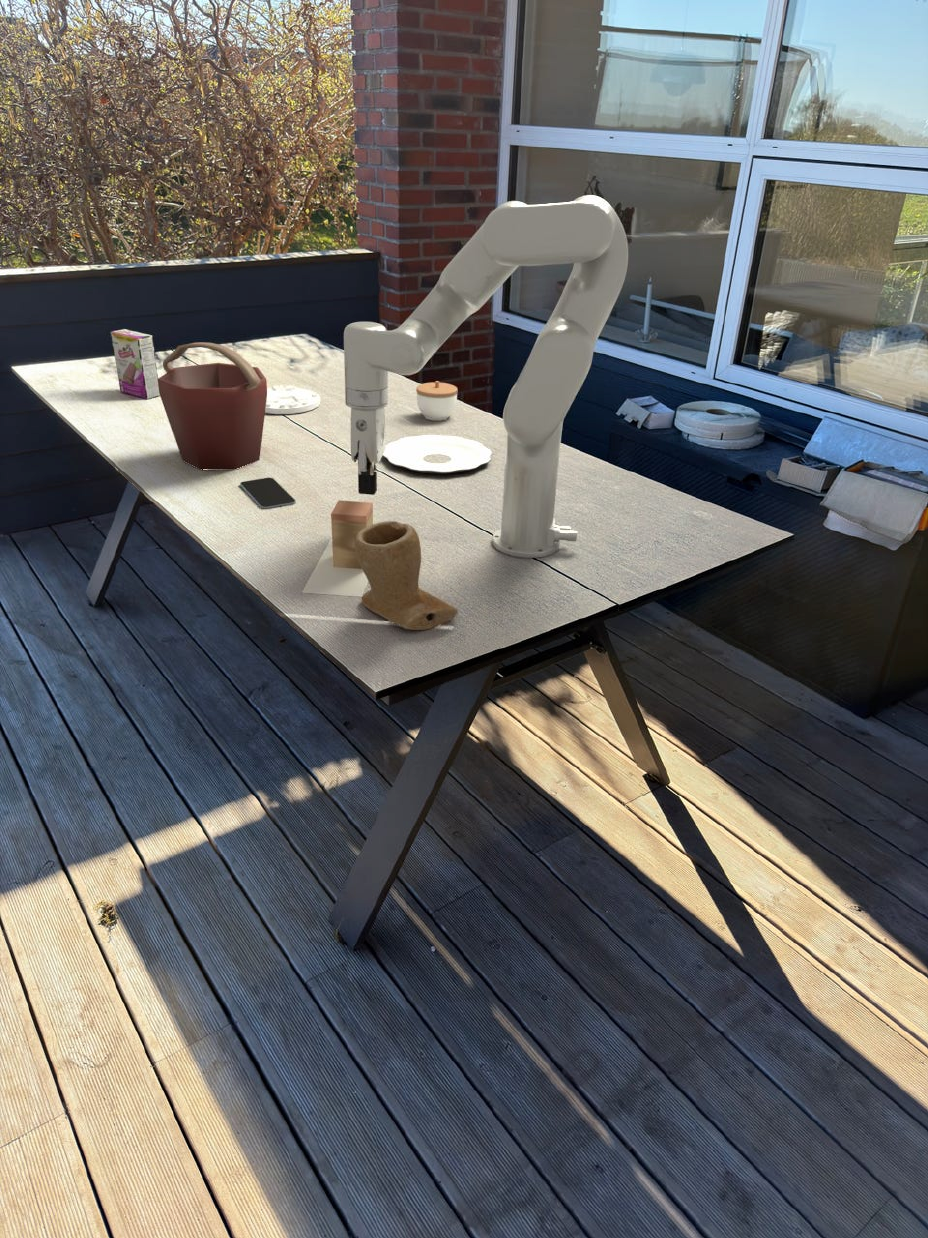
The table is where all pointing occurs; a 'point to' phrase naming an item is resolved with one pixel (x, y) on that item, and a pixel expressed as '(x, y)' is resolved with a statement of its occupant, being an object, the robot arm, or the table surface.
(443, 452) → the plate
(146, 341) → the candy bar box
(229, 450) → the bucket
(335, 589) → the mat
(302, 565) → the table surface
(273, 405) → the white round plaque
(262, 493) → the smartphone
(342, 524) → the oak block
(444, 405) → the lidded jar
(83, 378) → the table surface
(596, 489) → the table surface
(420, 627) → the clay platform pipe
